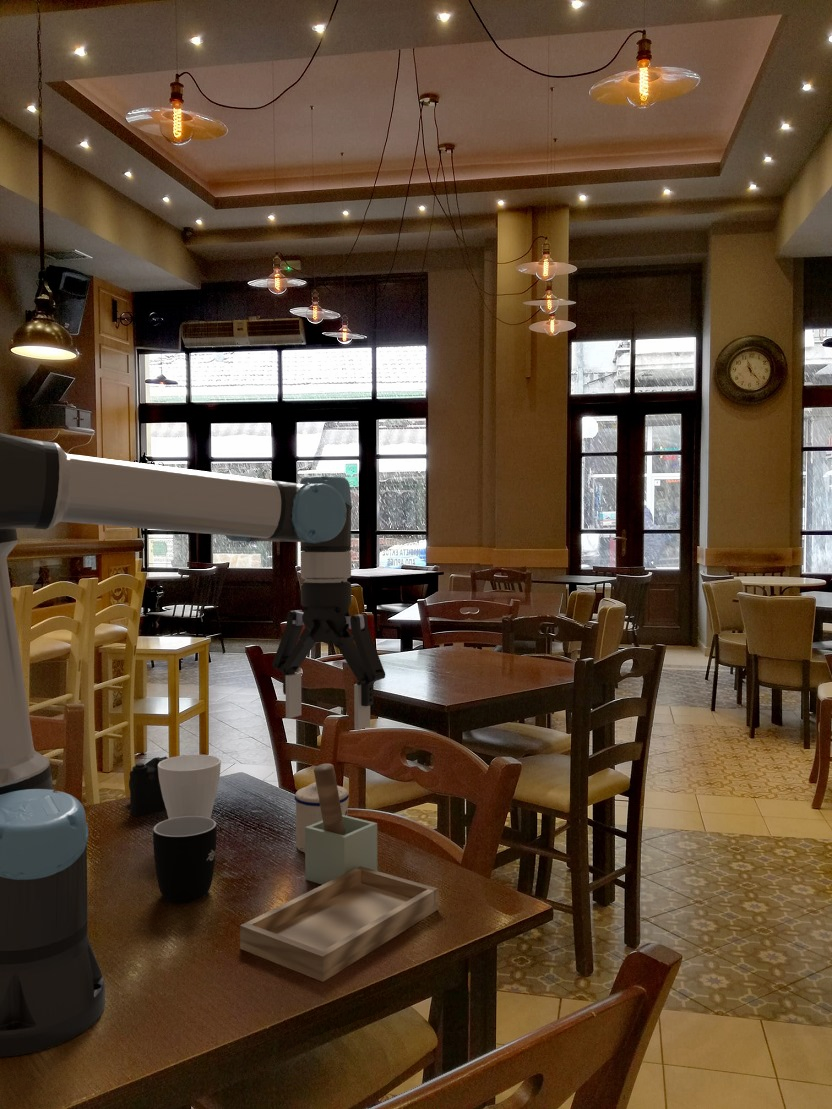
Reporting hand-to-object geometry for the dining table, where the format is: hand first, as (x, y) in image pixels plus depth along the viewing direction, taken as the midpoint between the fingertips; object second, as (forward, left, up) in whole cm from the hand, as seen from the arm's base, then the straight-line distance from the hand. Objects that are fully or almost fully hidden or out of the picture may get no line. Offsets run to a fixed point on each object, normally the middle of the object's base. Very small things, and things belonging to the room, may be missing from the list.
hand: (327, 722), depth 131 cm
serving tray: (-10, -12, -24) cm, 29 cm away
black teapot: (+10, +52, -25) cm, 58 cm away
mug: (-14, +15, -25) cm, 32 cm away
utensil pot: (+3, 0, -24) cm, 25 cm away
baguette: (+1, 0, -24) cm, 24 cm away
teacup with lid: (+12, +12, -25) cm, 30 cm away
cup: (0, +31, -25) cm, 40 cm away
